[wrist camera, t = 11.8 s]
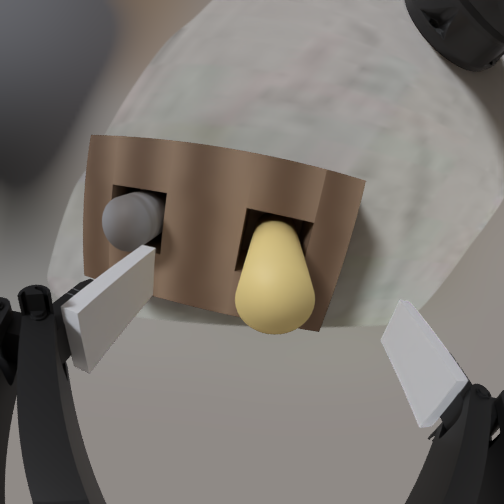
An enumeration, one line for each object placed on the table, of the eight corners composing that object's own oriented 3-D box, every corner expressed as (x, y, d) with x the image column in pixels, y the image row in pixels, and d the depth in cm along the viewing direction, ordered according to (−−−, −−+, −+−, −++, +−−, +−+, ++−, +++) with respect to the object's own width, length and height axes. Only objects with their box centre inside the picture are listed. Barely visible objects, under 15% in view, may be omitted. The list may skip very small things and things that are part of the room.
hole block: (344, 176, 26) (374, 182, 18) (310, 297, 31) (321, 344, 22) (126, 138, 27) (77, 134, 18) (116, 253, 31) (73, 283, 23)
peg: (299, 215, 27) (325, 273, 13) (289, 252, 28) (302, 340, 14) (259, 206, 27) (242, 256, 13) (251, 244, 28) (229, 325, 14)
